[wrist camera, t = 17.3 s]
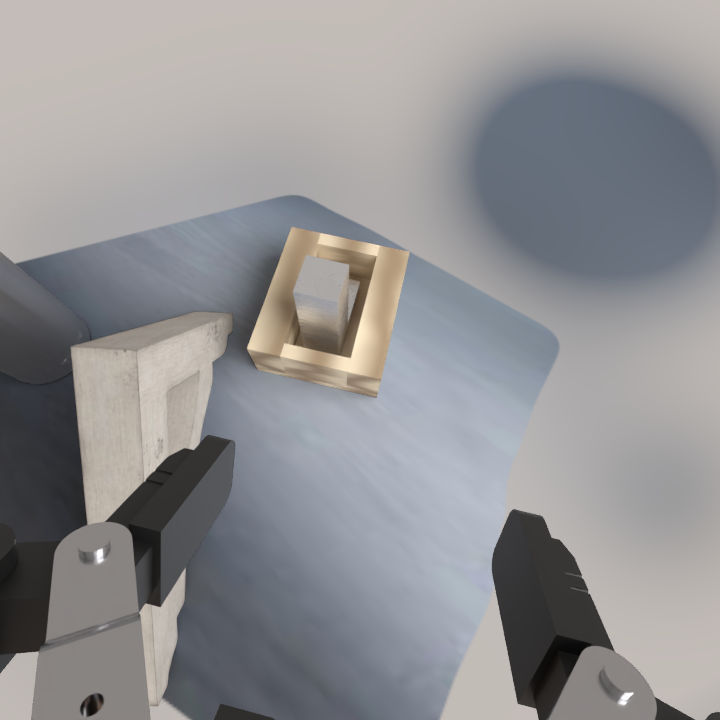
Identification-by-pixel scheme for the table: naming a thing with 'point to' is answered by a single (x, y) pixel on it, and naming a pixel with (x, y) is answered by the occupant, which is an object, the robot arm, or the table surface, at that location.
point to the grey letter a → (144, 432)
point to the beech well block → (367, 325)
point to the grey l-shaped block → (324, 303)
